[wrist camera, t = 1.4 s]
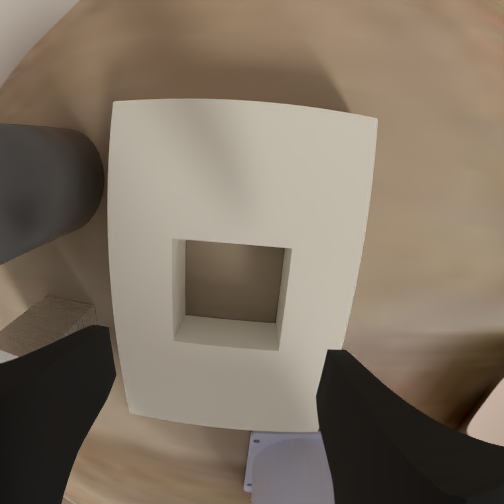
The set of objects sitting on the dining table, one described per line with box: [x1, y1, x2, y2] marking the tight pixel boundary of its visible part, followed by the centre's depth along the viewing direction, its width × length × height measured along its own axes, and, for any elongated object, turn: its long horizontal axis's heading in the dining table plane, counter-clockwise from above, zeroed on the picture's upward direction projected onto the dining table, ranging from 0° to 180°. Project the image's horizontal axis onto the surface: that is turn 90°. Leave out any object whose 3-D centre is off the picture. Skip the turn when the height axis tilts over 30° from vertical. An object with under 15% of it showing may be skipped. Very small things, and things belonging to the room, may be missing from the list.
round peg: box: [0, 124, 104, 265], centre depth 13 cm, size 6×6×7 cm
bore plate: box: [107, 99, 378, 432], centre depth 16 cm, size 18×12×3 cm, turn 175°
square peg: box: [0, 296, 97, 363], centre depth 16 cm, size 4×4×7 cm
